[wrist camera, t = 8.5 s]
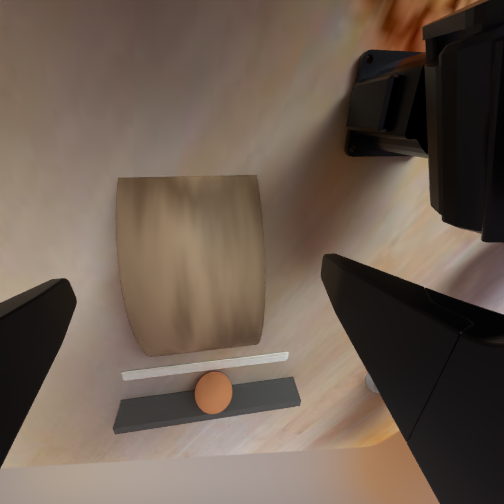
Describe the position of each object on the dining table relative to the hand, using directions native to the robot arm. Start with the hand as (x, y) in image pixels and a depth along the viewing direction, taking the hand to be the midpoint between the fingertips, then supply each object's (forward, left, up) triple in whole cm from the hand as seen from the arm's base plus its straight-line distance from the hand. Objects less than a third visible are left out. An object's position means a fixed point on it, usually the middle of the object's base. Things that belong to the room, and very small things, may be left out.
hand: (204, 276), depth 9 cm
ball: (+1, +21, -10) cm, 23 cm away
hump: (+1, +8, -29) cm, 30 cm away
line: (+1, +19, -12) cm, 22 cm away
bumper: (+1, +24, -12) cm, 26 cm away
